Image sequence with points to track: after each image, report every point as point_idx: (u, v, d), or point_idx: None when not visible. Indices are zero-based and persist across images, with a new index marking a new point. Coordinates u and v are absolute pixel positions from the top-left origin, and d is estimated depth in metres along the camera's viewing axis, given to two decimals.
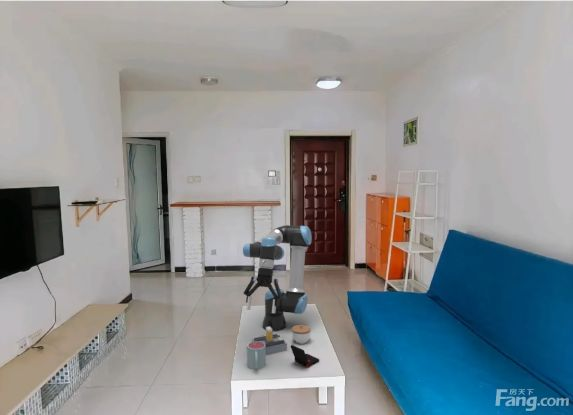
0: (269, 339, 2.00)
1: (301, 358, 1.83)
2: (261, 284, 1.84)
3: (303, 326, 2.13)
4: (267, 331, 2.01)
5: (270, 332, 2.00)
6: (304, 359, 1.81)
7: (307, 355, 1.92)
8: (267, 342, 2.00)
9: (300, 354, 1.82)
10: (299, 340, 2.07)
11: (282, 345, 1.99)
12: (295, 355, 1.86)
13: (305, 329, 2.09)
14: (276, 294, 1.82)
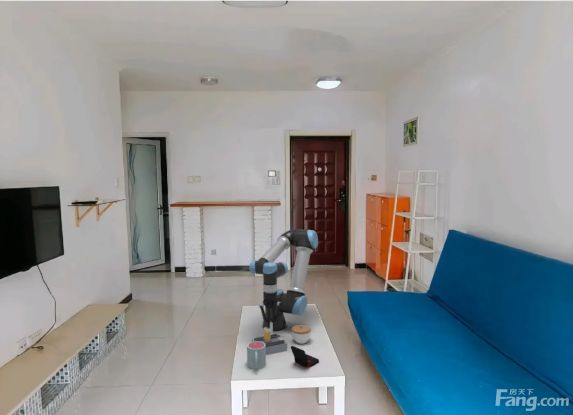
0: (267, 339, 2.00)
1: (301, 359, 1.82)
2: None
3: (303, 326, 2.13)
4: (265, 331, 2.00)
5: (268, 332, 2.00)
6: (305, 360, 1.81)
7: (307, 356, 1.91)
8: (265, 342, 1.99)
9: (301, 355, 1.81)
10: (299, 340, 2.07)
11: (282, 345, 1.99)
12: (295, 356, 1.85)
13: (305, 329, 2.09)
14: None
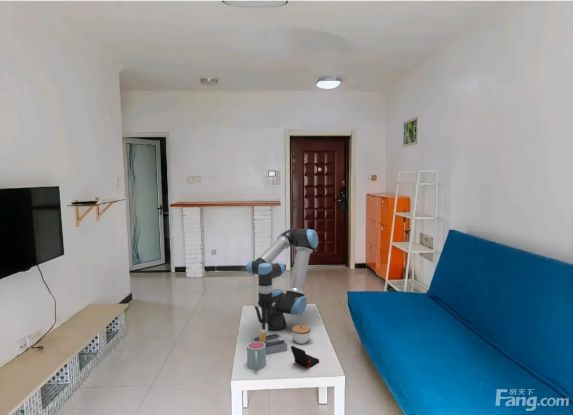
0: (262, 340, 1.99)
1: (301, 359, 1.82)
2: None
3: (303, 326, 2.13)
4: (260, 332, 1.99)
5: (263, 333, 1.99)
6: (305, 360, 1.80)
7: (307, 356, 1.91)
8: None
9: (301, 355, 1.81)
10: (299, 340, 2.07)
11: (282, 345, 1.99)
12: (295, 356, 1.85)
13: (305, 329, 2.09)
14: None
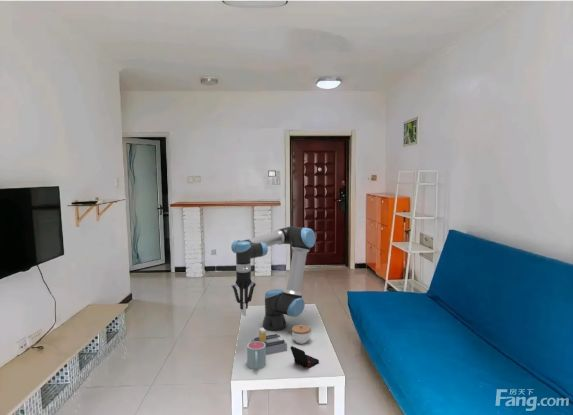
0: (262, 340, 1.99)
1: (301, 359, 1.82)
2: None
3: (303, 326, 2.13)
4: (260, 332, 1.99)
5: (263, 333, 1.99)
6: (304, 360, 1.80)
7: (307, 356, 1.90)
8: None
9: (300, 355, 1.80)
10: (299, 340, 2.07)
11: (282, 345, 1.99)
12: (295, 356, 1.85)
13: (305, 329, 2.09)
14: None
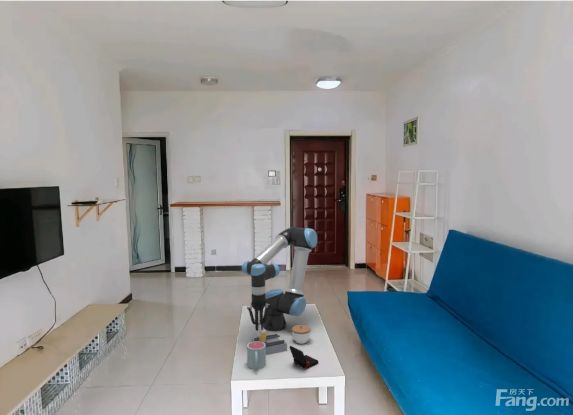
0: (262, 340, 1.99)
1: (300, 359, 1.82)
2: None
3: (303, 326, 2.13)
4: None
5: (263, 333, 1.99)
6: (303, 361, 1.80)
7: (306, 356, 1.90)
8: None
9: (299, 356, 1.80)
10: (299, 340, 2.07)
11: (282, 345, 1.99)
12: (294, 356, 1.85)
13: (305, 329, 2.09)
14: None
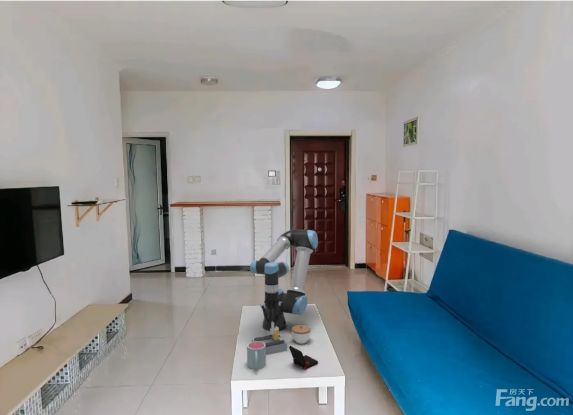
0: (275, 338, 2.02)
1: (299, 360, 1.81)
2: None
3: (303, 326, 2.13)
4: None
5: (276, 331, 2.02)
6: (302, 361, 1.80)
7: (306, 357, 1.90)
8: None
9: (298, 356, 1.80)
10: (299, 340, 2.07)
11: (282, 345, 1.99)
12: (294, 356, 1.85)
13: (305, 329, 2.09)
14: None
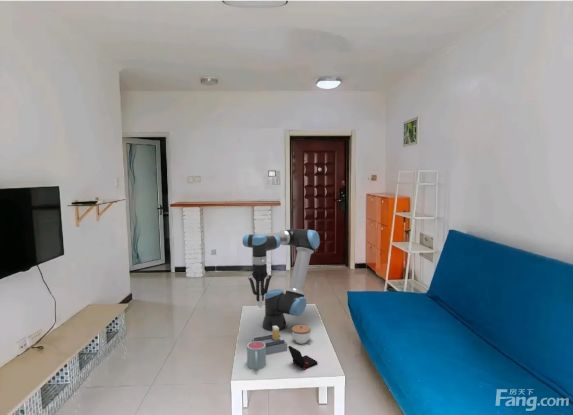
0: (276, 338, 2.02)
1: (298, 360, 1.81)
2: None
3: (303, 326, 2.13)
4: (274, 330, 2.02)
5: (277, 331, 2.02)
6: (301, 361, 1.80)
7: (306, 357, 1.89)
8: None
9: (297, 356, 1.80)
10: (299, 340, 2.07)
11: (282, 345, 1.99)
12: (293, 356, 1.85)
13: (305, 329, 2.09)
14: None
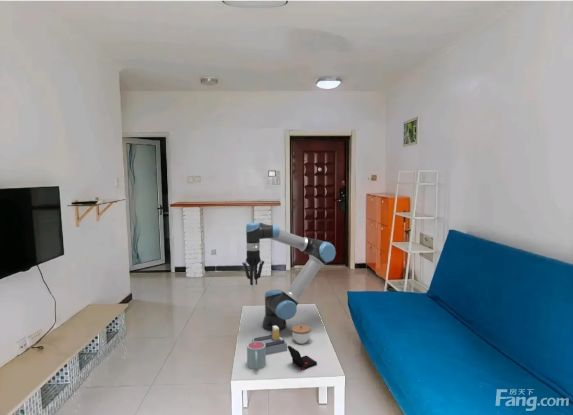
0: (276, 338, 2.02)
1: (297, 360, 1.81)
2: None
3: (303, 326, 2.13)
4: (274, 330, 2.02)
5: (277, 331, 2.02)
6: (300, 361, 1.79)
7: (306, 357, 1.89)
8: None
9: (296, 356, 1.80)
10: (299, 340, 2.07)
11: (282, 345, 1.99)
12: (292, 356, 1.85)
13: (305, 329, 2.09)
14: None
